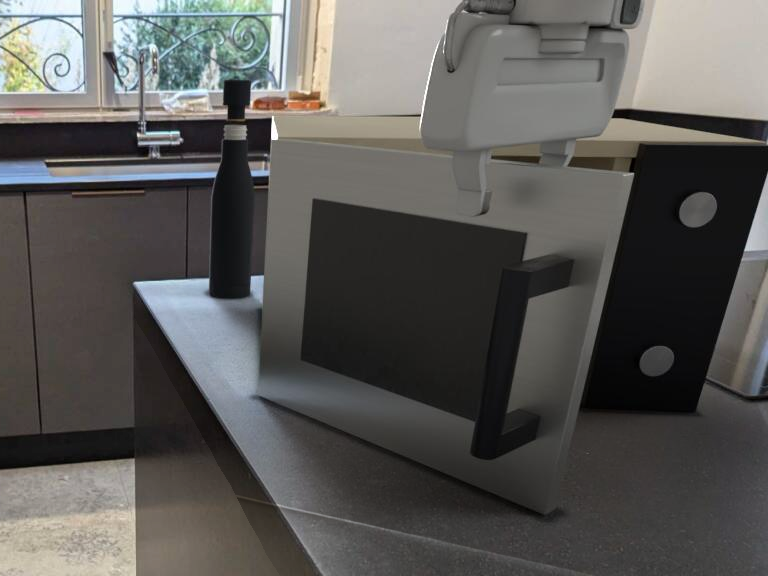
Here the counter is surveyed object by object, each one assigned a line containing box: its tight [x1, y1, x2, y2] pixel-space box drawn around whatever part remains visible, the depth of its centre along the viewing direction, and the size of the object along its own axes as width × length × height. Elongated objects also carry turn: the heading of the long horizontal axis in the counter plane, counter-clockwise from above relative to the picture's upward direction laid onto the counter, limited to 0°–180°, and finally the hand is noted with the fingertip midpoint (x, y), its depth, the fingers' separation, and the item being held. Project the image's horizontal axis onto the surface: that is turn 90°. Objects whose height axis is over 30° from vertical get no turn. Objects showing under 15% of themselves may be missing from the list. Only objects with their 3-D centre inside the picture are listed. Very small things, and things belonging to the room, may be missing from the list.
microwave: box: [261, 115, 768, 413], centre depth 96 cm, size 35×44×26 cm
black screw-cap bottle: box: [208, 79, 256, 299], centre depth 121 cm, size 6×6×30 cm
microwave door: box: [257, 139, 634, 516], centre depth 69 cm, size 8×33×26 cm, turn 38°
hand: (507, 208), depth 62 cm, fingers open, 8 cm apart
